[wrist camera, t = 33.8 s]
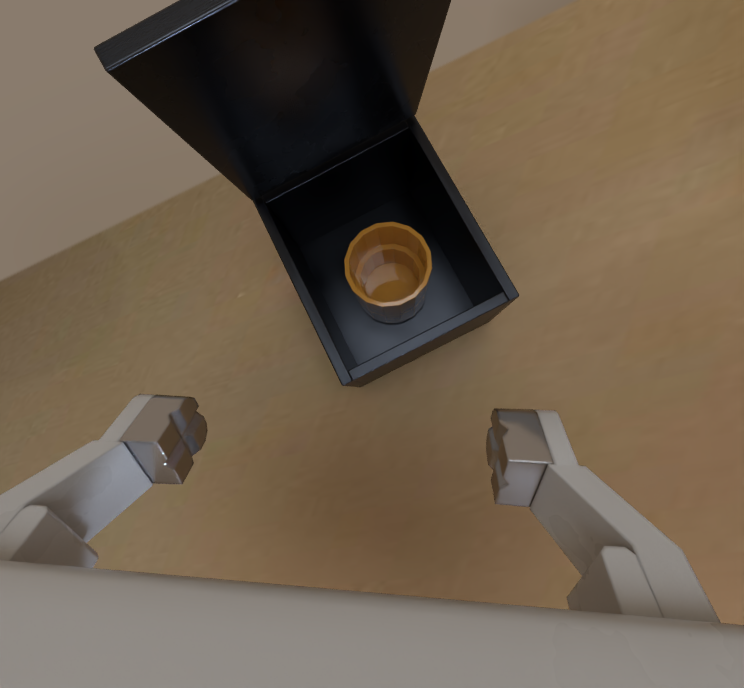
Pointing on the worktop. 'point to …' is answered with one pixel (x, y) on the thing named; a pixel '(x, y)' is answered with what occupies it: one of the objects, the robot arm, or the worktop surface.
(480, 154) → the worktop surface
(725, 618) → the worktop surface
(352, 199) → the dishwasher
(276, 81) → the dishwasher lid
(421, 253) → the golden yellow cup
